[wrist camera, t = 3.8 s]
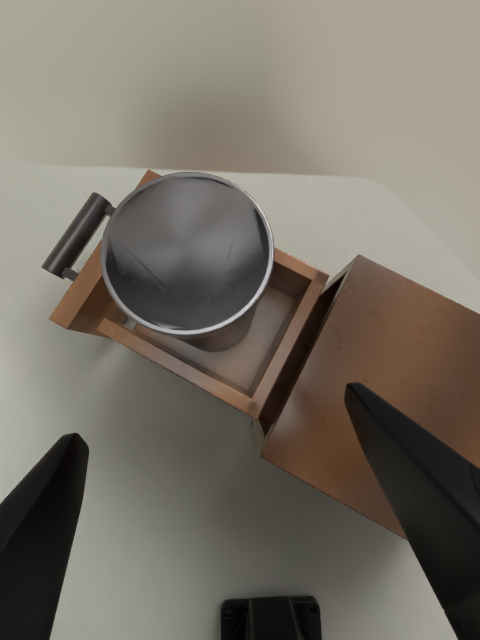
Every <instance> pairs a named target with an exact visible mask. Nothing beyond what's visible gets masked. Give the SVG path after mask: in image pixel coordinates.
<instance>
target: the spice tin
mask: <svg viewBox="0 0 480 640" xmlns="http://www.w3.org/2000/svg"><path fill="white" fill-rule="evenodd" d="M100 263H101V269H102V275H103V278H104V281H105V285H106V287H107V289H108V291H109V293H110V295H111V297H112V298H113V300H114V301H115V303H116V304H117V305H118V306H119V308H120V309H121V310H122V311H123V312H124V313H125V314H126V315H127V316H129V317H130V318H131V319H132V320H134V321H135V322H137V323H138V324H140V325H141V326H143V327H145V328H148V329H150V330H152V331H154V332H156V333H159V334H162V335H165V336H169V337H174V338H176V339H178V340H180V341H183V342H185V343H187V344H189V345H191V346H193V347H195V348H197V349H200V350H203V351H208V352H220V351H224V350H227V349H230V348H232V347H234V346H235V345H237V344H238V343H239V342H240V341H241V340H243V338H244V337H245V336H246V334H247V333H248V331H249V329H250V327H251V324H252V321H253V318H254V315H255V312H256V309H257V306H258V303H259V301H260V299H261V298H262V296H263V294H264V292H265V290H266V288H267V286H268V283H269V280H270V277H271V274H272V270H273V264H274V240H273V235H272V231H271V228H270V225H269V223H268V221H267V218H266V216H265V215H264V213H263V211H262V210H261V208H260V207H259V206H258V204H257V203H256V202H255V200H254V199H253V198H252V197H251V196H250V195H249V194H247V193H246V192H245V191H244V190H242V189H241V188H240V187H238V186H237V185H235V184H233V183H232V182H230V181H228V180H225V179H223V178H221V177H218V176H214V175H211V174H205V173H199V172H181V173H173V174H168V175H164V176H161V177H158V178H155V179H153V180H151V181H149V182H147V183H145V184H143V185H142V186H140V187H138V188H137V189H135V190H134V191H133V192H132V193H130V194H129V195H128V196H127V197H126V198H125V199H124V200H123V201H122V202H121V203H120V204H119V206H118V207H117V208H116V210H115V211H114V212H113V214H112V216H111V217H110V219H109V221H108V223H107V226H106V228H105V231H104V234H103V238H102V242H101V250H100Z"/></svg>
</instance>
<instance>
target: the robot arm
mask: <svg viewBox="0 0 480 640" xmlns="http://www.w3.org/2000/svg"><path fill="white" fill-rule="evenodd" d="M344 404H345V407H346V409H347V412H348V415H349V417H350V420H351V423H352V425H353V428H354V430H355V433H356V436H357V438H358V441H359V443H360V446H361V448H362V450H363V453H364V455H365V457H366V459H367V461H368V463H369V465H370V466H371V468H372V470H373V472H374V474H375V476H376V478H377V480H378V482H379V484H380V486H381V488H382V490H383V492H384V494H385V496H386V498H387V500H388V502H389V504H390V506H391V508H392V510H393V512H394V514H395V516H396V518H397V520H398V522H399V524H400V526H401V528H402V530H403V532H404V533H405V535H406V537H407V539H408V541H409V543H410V545H411V547H412V549H413V551H414V553H415V555H416V557H417V559H418V561H419V563H420V565H421V567H422V569H423V571H424V573H425V575H426V577H427V579H428V581H429V583H430V585H431V587H432V589H433V591H434V593H435V595H436V597H437V599H438V600H439V602H440V604H441V606H442V608H443V610H444V613H445V615H446V617H447V619H448V621H449V623H450V624H451V626H452V628H453V630H454V632H455V634H456V636H457V638H458V640H480V468H478V467H477V466H476V465H474V464H473V463H471V462H469V461H468V460H467V459H466V458H464V457H463V456H462V455H460V454H459V453H457V452H456V451H455V450H453V449H452V448H451V447H449V446H448V445H446V444H445V443H444V442H442V441H441V440H440V439H438V438H437V437H435V436H434V435H433V434H431V433H430V432H428V431H427V430H426V429H424V428H423V427H422V426H420V425H419V424H417V423H416V422H415V421H413V420H412V419H411V418H409V417H408V416H406V415H405V414H404V413H402V412H401V411H399V410H398V409H397V408H395V407H394V406H393V405H391V404H390V403H388V402H387V401H386V400H384V399H383V398H382V397H380V396H379V395H377V394H376V393H375V392H373V391H372V390H370V389H369V388H368V387H366V386H365V385H364V384H362V383H361V382H351V383H347V385H346V388H345V394H344ZM88 458H89V447H88V445H87V444H86V442H85V441H84V440H83V439H82V437H81V436H80V435H79V434H78V433H71V434H66V435H63V436H62V437H61V438H60V439H59V440H58V441H57V442H56V443H55V444H54V445H53V446H52V448H51V449H50V450H49V451H48V452H47V453H46V454H45V455H44V456H43V457H42V459H41V460H40V461H39V462H38V463H37V464H36V465H35V466H34V467H33V468H32V470H31V471H30V472H29V473H28V474H27V475H26V476H25V477H24V478H23V479H22V481H21V482H20V483H19V484H18V485H17V486H16V487H15V488H14V489H13V490H12V492H11V493H10V494H9V495H8V496H7V497H6V498H5V499H4V500H3V501H2V503H1V504H0V640H49V639H50V635H51V631H52V627H53V622H54V618H55V614H56V610H57V606H58V602H59V597H60V593H61V589H62V585H63V581H64V577H65V572H66V568H67V564H68V560H69V556H70V552H71V547H72V543H73V539H74V535H75V531H76V527H77V522H78V518H79V514H80V510H81V505H82V500H83V494H84V487H85V480H86V472H87V465H88ZM310 606H314V608H313V609H309V607H310ZM227 609H229V610H231V612H230V613H227V612H226V610H227ZM221 640H322V635H321V621H320V609H319V605H318V602H317V600H316V599H315V598H314V597H311V596H307V597H267V598H252V599H239V600H226V601H225V602H223V604H222V606H221Z"/></svg>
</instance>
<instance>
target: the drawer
mask: <svg viewBox="0 0 480 640" xmlns="http://www.w3.org/2000/svg"><path fill="white" fill-rule="evenodd" d="M158 177H161V175H159V174H157V173H155V172H153V171H151V170H148V171H147V172H146V174H145V175H144V177H143V178H142V180H141V181H140V183H139V184H138V186H137V187H136V189H137V188H138V187H140V186H142V185H143V184H145V183H147V182H149V181H151V180H153V179H155V178H158ZM115 210H116V208H114V207H112V205H111V203H110V202H109V201H108V200H106V199H105V198H104V197H102V196H101V195H99V194H97V193H95V192H93V193H92V194H91V196H90V197H89V199H88V200H87V202H86V203H85V204H84V206H83V207H82V209H81V210H80V212H79V213H78V215H77V216H76V217H75V219H74V220H73V222H72V223H71V225H70V226H69V227H68V229H67V230H66V232H65V233H64V235H63V236H62V238H61V239H60V240H59V242H58V243H57V245H56V246H55V248H54V249H53V251H52V252H51V253H50V255H49V256H48V258H47V259H46V261H45V262H44V263H43V265H42V266H41V267H42V268H43V269H45V270H47V271H49V272H50V273H52V274H54V275H56V276H58V277H60V278H62V279H64V278H65V277H66V278H68V279H70V280H72V281H74V282H73V283H72V285H71V286H70V288H69V289H68V291H67V292H66V294H65V295H64V297H63V298H62V300H61V301H60V303H59V304H58V306H57V307H56V309H55V310H54V312H53V313H52V315H51V316H50V318H49V319H50V320H51V321H53V322H55V323H56V324H58V325H60V326H62V327H64V328H65V329H69V330H73V331H78V332H82V333H87V334H91V335H95V336H100V337H104V338H109V339H113V340H115V341H117V342H119V343H121V344H122V345H124V346H126V347H128V348H129V349H131V350H133V351H135V352H137V353H138V354H140V355H142V356H144V357H146V358H147V359H149V360H151V361H153V362H155V363H156V364H158V365H160V366H162V367H164V368H165V369H167V370H169V371H171V372H173V373H174V374H176V375H178V376H180V377H182V378H183V379H185V380H187V381H189V382H191V383H192V384H194V385H196V386H198V387H199V388H201V389H203V390H205V391H207V392H208V393H210V394H212V395H214V396H216V397H217V398H219V399H221V400H223V401H225V402H226V403H228V404H230V405H232V406H234V407H235V408H237V409H239V410H241V411H243V412H244V413H246V414H248V415H250V416H252V417H253V418H255V419H258V417H259V415H260V413H261V411H262V409H263V407H264V405H265V403H266V401H267V399H268V397H269V395H270V393H271V391H272V389H273V387H274V385H275V383H276V381H277V379H278V377H279V375H280V373H281V371H282V369H283V367H284V365H285V363H286V361H287V359H288V357H289V355H290V353H291V351H292V349H293V347H294V345H295V343H296V341H297V340H298V338H299V336H300V334H301V332H302V330H303V328H304V326H305V324H306V322H307V320H308V318H309V316H310V314H311V312H312V310H313V308H314V306H315V304H316V302H317V300H318V298H319V296H320V294H321V292H322V290H323V288H324V286H325V284H326V282H327V280H328V278H329V275H328V274H326V273H324V272H322V271H320V270H318V269H316V268H314V267H312V266H311V265H309V264H307V263H305V262H303V261H301V260H299V259H297V258H295V257H293V256H291V255H289V254H287V253H285V252H283V251H281V250H279V249H277V248H275V247H274V264H273V270H272V274H271V277H270V280H269V283H268V286H267V288H266V290H265V292H264V294H263V296H262V298H261V299H260V301H259V303H258V306H257V309H256V312H255V315H254V318H253V321H252V324H251V327H250V329H249V331H248V333H247V334H246V336H245V337H244V338H243V340H241V341H240V342H239V343H238V344H237V345H235V346H234V347H232V348H230V349H227V350H224V351H220V352H208V351H203V350H200V349H197V348H195V347H193V346H191V345H189V344H187V343H185V342H183V341H180V340H178V339H176V338H174V337H169V336H165V335H162V334H159V333H156V332H154V331H152V330H150V329H148V328H145V327H143V326H141V325H140V324H138V323H137V325H136V326H135V328H131V327H128V326H125V325H123V323H124V321H125V320H126V318H127V315H126V314H125V313H124V312H123V311H122V310H121V309H120V308H119V306H118V305H117V304H116V303H115V301H114V300H113V298H112V297H111V295H110V293H109V291H108V289H107V287H106V285H105V281H104V278H103V275H102V269H101V263H100V250H101V242H102V240H101V241H100V243H99V244H98V246H97V247H96V249H95V250H94V252H93V253H92V255H91V256H90V258H89V259H88V261H87V262H86V264H85V265H84V267H83V268H82V270H81V271H80V273H77V272H75V271H73V270H71V268H72V266H73V265H74V263H75V262H76V260H77V259H78V257H79V256H80V254H81V253H82V251H83V250H84V248H85V247H86V245H87V244H88V242H89V241H90V239H91V238H92V237H93V235H94V234H95V232H96V231H97V229H98V228H99V226H100V225H101V223H102V222H103V220H104V219H105V217H106V216H109V217H111V216H112V214H113V212H114V211H115Z"/></svg>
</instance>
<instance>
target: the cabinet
mask: <svg viewBox="0 0 480 640" xmlns="http://www.w3.org/2000/svg"><path fill="white" fill-rule="evenodd" d="M351 382H361V383H362V384H364V385H365V386H366V387H368V388H369V389H370V390H372V391H373V392H375V393H376V394H377V395H379V396H380V397H382V398H383V399H384V400H386V401H387V402H388V403H390V404H391V405H393V406H394V407H395V408H397V409H398V410H399V411H401V412H402V413H404V414H405V415H406V416H408V417H409V418H411V419H412V420H413V421H415V422H416V423H417V424H419V425H420V426H422V427H423V428H424V429H426V430H427V431H428V432H430V433H431V434H433V435H434V436H435V437H437V438H438V439H440V440H441V441H442V442H444V443H445V444H446V445H448V446H449V447H451V448H452V449H453V450H455V451H456V452H457V453H459V454H460V455H462V456H463V457H464V458H466V459H467V460H468V461H469V462H471V463H473V464H474V465H476V466H477V467H478V468H480V314H478V313H476V312H474V311H472V310H470V309H468V308H466V307H464V306H462V305H460V304H458V303H456V302H454V301H452V300H450V299H448V298H446V297H444V296H442V295H440V294H438V293H436V292H434V291H432V290H430V289H428V288H426V287H424V286H422V285H420V284H418V283H416V282H414V281H412V280H410V279H408V278H406V277H404V276H402V275H400V274H398V273H396V272H394V271H392V270H390V269H388V268H386V267H384V266H382V265H379V264H377V263H375V262H373V261H371V260H369V259H367V258H365V257H363V256H361V255H358V256H357V257H356V258H354V259H353V261H351V262H350V263H349V264H348V265H347V266H346V267H345V268H344V269H343V270H342V271H341V272H340V273H338V274H337V275H336V276H335V277H334V278H333V279H332V280H331V281H330V282H329V283H328V284H327V285H325V286H324V288H323V290H322V292H321V294H320V296H319V298H318V300H317V302H316V304H315V306H314V308H313V310H312V312H311V314H310V316H309V318H308V320H307V322H306V324H305V326H304V328H303V330H302V332H301V334H300V336H299V338H298V340H297V341H296V343H295V345H294V347H293V349H292V351H291V353H290V355H289V357H288V359H287V361H286V363H285V365H284V367H283V369H282V371H281V373H280V375H279V377H278V379H277V381H276V383H275V385H274V387H273V389H272V391H271V393H270V395H269V397H268V399H267V401H266V403H265V405H264V407H263V409H262V411H261V413H260V415H259V417H258V419H255V418H254V420H253V422H252V427H253V431H254V435H255V439H256V443H257V447H258V450H259V455H260V457H261V458H263V459H265V460H267V461H268V462H270V463H272V464H274V465H275V466H277V467H279V468H281V469H282V470H284V471H286V472H288V473H290V474H291V475H293V476H295V477H297V478H298V479H300V480H302V481H304V482H305V483H307V484H309V485H311V486H312V487H314V488H316V489H318V490H319V491H321V492H323V493H325V494H327V495H328V496H330V497H332V498H334V499H335V500H337V501H339V502H341V503H342V504H344V505H346V506H348V507H349V508H351V509H353V510H355V511H356V512H358V513H360V514H362V515H364V516H365V517H367V518H369V519H371V520H372V521H374V522H376V523H378V524H379V525H381V526H383V527H385V528H386V529H388V530H390V531H392V532H394V533H395V534H397V535H399V536H401V537H402V538H404V539H406V540H408V539H407V537H406V535H405V533H404V532H403V530H402V528H401V526H400V524H399V522H398V520H397V518H396V516H395V514H394V512H393V510H392V508H391V506H390V504H389V502H388V500H387V498H386V496H385V494H384V492H383V490H382V488H381V486H380V484H379V482H378V480H377V478H376V476H375V474H374V472H373V470H372V468H371V466H370V465H369V463H368V461H367V459H366V457H365V455H364V453H363V450H362V448H361V446H360V443H359V441H358V438H357V436H356V433H355V430H354V428H353V425H352V423H351V420H350V417H349V415H348V412H347V409H346V407H345V404H344V394H345V388H346V385H347V383H351Z"/></svg>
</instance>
